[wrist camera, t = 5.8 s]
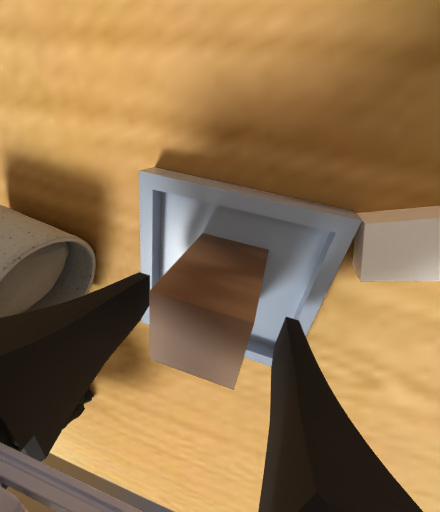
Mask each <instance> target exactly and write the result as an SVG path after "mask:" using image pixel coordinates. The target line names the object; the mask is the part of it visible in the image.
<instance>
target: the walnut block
mask: <svg viewBox="0 0 440 512" xmlns="http://www.w3.org/2000/svg"><path fill="white" fill-rule="evenodd" d="M268 252H269V250H267V249H264V248H260V247H256V246H252V245H248V244H244V243H240V242H236V241H232V240H228V239H224V238H220V237H216V236H213V235H209V234H205V233H202V234H201V235H200V236H199V237H198V238H197V239H196V241H195V242H194V243H193V244H192V245H191V246H190V247H189V248H188V249H187V250H186V251H185V253H184V254H183V255H182V256H181V257H180V258H179V259H178V260H177V261H176V262H175V263H174V265H173V266H172V267H171V268H170V269H169V270H168V271H167V272H166V273H165V274H164V275H163V277H162V278H161V279H160V280H159V281H158V282H157V283H156V284H155V285H154V286H153V287H152V289H151V290H150V291H149V318H150V360H153V361H156V362H158V363H161V364H164V365H167V366H169V367H172V368H175V369H178V370H180V371H183V372H186V373H189V374H191V375H194V376H197V377H200V378H202V379H205V380H208V381H211V382H213V383H216V384H219V385H222V386H224V387H227V388H230V389H233V390H234V388H235V384H236V381H237V378H238V375H239V371H240V368H241V365H242V362H243V358H244V355H245V352H246V349H247V345H248V342H249V339H250V336H251V332H252V329H253V326H254V322H255V317H256V312H257V307H258V302H259V297H260V292H261V287H262V282H263V277H264V272H265V267H266V262H267V257H268Z"/></svg>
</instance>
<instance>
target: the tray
mask: <svg viewBox="0 0 440 512" xmlns="http://www.w3.org/2000/svg"><path fill="white" fill-rule="evenodd" d="M139 203H140V251H141V273H144V274H147V275H150V290H151V289H152V287H153V286H154V285H155V284H156V283H157V282H158V281H159V280H160V279H161V278H162V277H163V275H164V274H165V273H166V272H167V271H168V270H169V269H170V268H171V267H172V266H173V265H174V263H175V262H176V261H177V260H178V259H179V258H180V257H181V256H182V255H183V254H184V253H185V251H186V250H187V249H188V248H189V247H190V246H191V245H192V244H193V243H194V242H195V241H196V239H197V238H198V237H199V236H200V235H201V234H202V233H205V234H209V235H213V236H216V237H220V238H224V239H228V240H232V241H236V242H240V243H244V244H248V245H252V246H256V247H260V248H264V249H267V250H269V252H268V257H267V262H266V267H265V272H264V277H263V282H262V287H261V292H260V297H259V302H258V307H257V312H256V317H255V322H254V326H253V329H252V332H251V336H250V339H249V342H248V345H247V349H246V352H245V355H244V357H245V358H247V359H250V360H253V361H256V362H259V363H262V364H265V365H268V366H271V367H272V358H273V352H274V345H275V343H276V340H277V338H278V335H279V333H280V330H281V328H282V325H283V323H284V320H285V318H286V317H289V318H293V319H296V320H299V322H300V324H301V326H302V329H303V332H304V334H305V337H306V335H307V332H308V330H309V328H310V326H311V324H312V322H313V320H314V318H315V316H316V314H317V312H318V310H319V308H320V306H321V304H322V302H323V300H324V298H325V296H326V293H327V291H328V289H329V287H330V285H331V283H332V281H333V279H334V277H335V275H336V273H337V271H338V269H339V267H340V265H341V263H342V261H343V259H344V257H345V255H346V252H347V250H348V248H349V246H350V244H351V242H352V240H353V238H354V236H355V234H356V232H357V230H358V228H359V226H360V224H361V222H362V220H361V219H360V218H359V217H358V215H357V214H356V213H355V212H354V211H352V210H348V209H343V208H339V207H334V206H330V205H325V204H320V203H316V202H311V201H307V200H302V199H298V198H293V197H289V196H284V195H279V194H275V193H270V192H266V191H261V190H257V189H252V188H247V187H243V186H238V185H234V184H229V183H225V182H220V181H215V180H211V179H206V178H202V177H197V176H193V175H188V174H183V173H179V172H174V171H170V170H165V169H161V168H156V167H153V168H149V169H144V170H140V171H139ZM142 323H145V324H148V325H150V318H149V307H148V309H147V310H146V312H145V314H144V315H143V317H142Z"/></svg>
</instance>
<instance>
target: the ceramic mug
mask: <svg viewBox="0 0 440 512" xmlns="http://www.w3.org/2000/svg"><path fill="white" fill-rule="evenodd" d="M95 269H96V259H95V254H94V251H93V249H92V248H91V247H90V245H89V244H88V243H87V242H86V241H84V240H82V239H81V238H79V237H77V236H75V235H72V234H69V233H67V232H64V231H62V230H60V229H58V228H55V227H53V226H51V225H48V224H46V223H43V222H41V221H38V220H36V219H33V218H31V217H28V216H26V215H24V214H22V213H20V212H17V211H15V210H13V209H10V208H7V207H5V206H2V205H0V318H1V317H6V316H12V315H17V314H21V313H26V312H30V311H34V310H38V309H42V308H46V307H50V306H53V305H57V304H60V303H63V302H67V301H70V300H73V299H76V298H78V297H81V296H84V295H86V294H87V293H88V291H89V289H90V287H91V285H92V282H93V279H94V275H95Z"/></svg>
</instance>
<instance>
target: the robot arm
mask: <svg viewBox="0 0 440 512" xmlns="http://www.w3.org/2000/svg"><path fill="white" fill-rule="evenodd" d="M149 291H150V275H147V274H144V273H140V272H139V273H137V274H134V275H132V276H129V277H127V278H125V279H123V280H120V281H118V282H116V283H113V284H111V285H109V286H106V287H104V288H102V289H99V290H97V291H94V292H92V293H89V294H86V295H84V296H81V297H78V298H76V299H73V300H70V301H67V302H63V303H60V304H57V305H53V306H50V307H46V308H42V309H38V310H34V311H30V312H26V313H21V314H17V315H12V316H6V317H1V318H0V512H28V510H27V509H26V508H25V507H24V506H23V504H22V501H21V500H20V499H19V498H17V497H16V496H14V495H13V494H11V493H10V492H8V491H7V490H5V489H4V488H2V487H1V483H3V484H5V485H7V486H9V487H11V488H13V489H15V490H17V491H19V492H21V493H23V494H25V495H26V496H28V497H30V498H32V499H34V500H36V501H38V502H40V503H42V504H44V505H46V506H48V507H50V508H52V509H54V510H55V511H57V512H143V511H141V510H139V509H137V508H135V507H133V506H131V505H129V504H126V503H124V502H122V501H120V500H118V499H116V498H114V497H112V496H110V495H108V494H106V493H104V492H102V491H100V490H97V489H95V488H93V487H91V486H89V485H87V484H85V483H83V482H81V481H79V480H77V479H75V478H73V477H71V476H69V475H67V474H65V473H63V472H61V471H58V470H56V469H54V468H52V467H50V466H48V465H46V464H44V463H42V462H41V461H42V460H44V459H45V458H46V457H47V456H48V454H49V452H50V450H51V448H52V447H53V445H54V443H55V441H56V440H57V438H58V436H59V435H60V433H61V431H62V429H63V428H64V426H65V424H66V422H67V421H68V419H69V418H70V416H71V414H72V413H73V411H74V409H75V408H76V406H77V405H78V403H79V401H80V400H81V398H82V397H83V395H84V394H85V392H86V391H87V389H88V388H89V386H90V384H91V383H92V381H93V380H94V378H95V377H96V376H97V374H98V373H99V371H100V370H101V368H102V367H103V365H104V364H105V362H106V361H107V360H108V359H109V357H110V356H111V355H112V354H113V352H114V351H115V350H116V349H117V348H118V346H119V345H120V344H121V343H122V342H123V340H124V339H125V338H126V337H127V336H128V334H129V333H130V332H131V331H132V330H133V328H134V327H135V326H136V325H137V324H138V322H139V321H140V320H141V318H142V317H143V315H144V314H145V312H146V310H147V309H148V307H149ZM258 512H423V511H422V510H421V509H420V508H419V506H418V505H417V504H416V503H415V502H414V501H413V499H412V498H411V497H410V496H409V495H408V494H407V492H406V491H405V490H404V489H403V488H402V487H401V485H400V484H399V483H398V482H397V481H396V480H395V478H394V477H393V476H392V475H391V474H390V472H389V471H388V470H387V469H386V467H385V466H384V465H383V463H382V462H381V461H380V460H379V458H378V457H377V456H376V455H375V453H374V452H373V451H372V449H371V448H370V447H369V445H368V444H367V443H366V441H365V440H364V439H363V437H362V436H361V434H360V433H359V432H358V430H357V429H356V427H355V426H354V425H353V423H352V422H351V420H350V419H349V417H348V416H347V414H346V413H345V411H344V410H343V408H342V407H341V405H340V403H339V402H338V400H337V399H336V397H335V395H334V394H333V392H332V390H331V388H330V387H329V385H328V383H327V381H326V379H325V377H324V375H323V374H322V372H321V370H320V368H319V366H318V364H317V362H316V359H315V357H314V355H313V353H312V351H311V349H310V346H309V344H308V341H307V339H306V337H305V334H304V332H303V329H302V326H301V324H300V322H299V320H296V319H293V318H289V317H286V318H285V320H284V323H283V325H282V328H281V330H280V333H279V335H278V338H277V340H276V343H275V345H274V352H273V358H272V368H271V405H270V426H269V435H268V443H267V452H266V460H265V468H264V475H263V483H262V490H261V497H260V504H259V511H258Z"/></svg>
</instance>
